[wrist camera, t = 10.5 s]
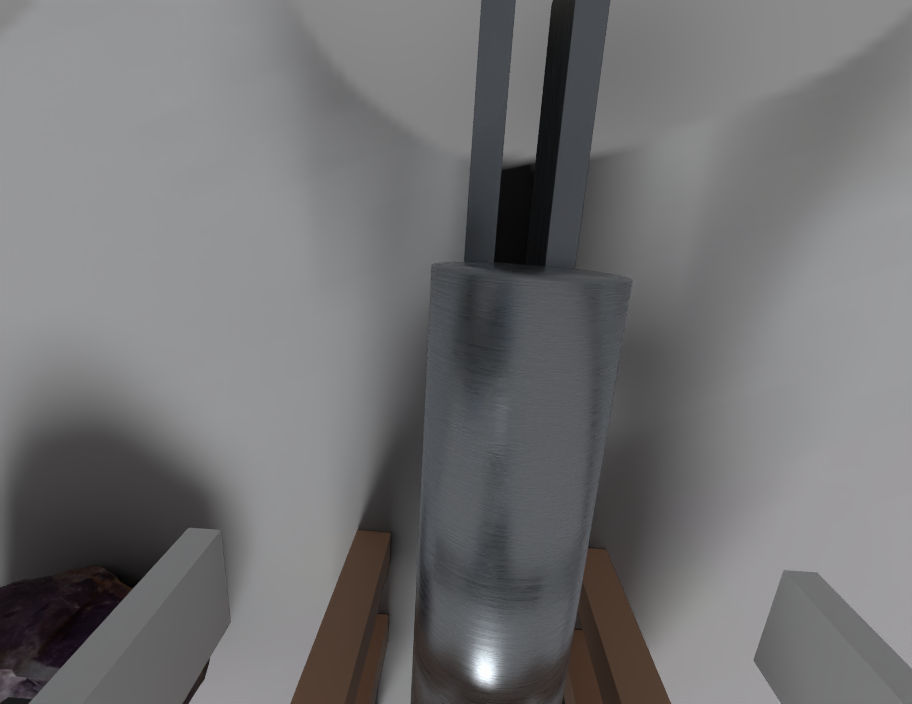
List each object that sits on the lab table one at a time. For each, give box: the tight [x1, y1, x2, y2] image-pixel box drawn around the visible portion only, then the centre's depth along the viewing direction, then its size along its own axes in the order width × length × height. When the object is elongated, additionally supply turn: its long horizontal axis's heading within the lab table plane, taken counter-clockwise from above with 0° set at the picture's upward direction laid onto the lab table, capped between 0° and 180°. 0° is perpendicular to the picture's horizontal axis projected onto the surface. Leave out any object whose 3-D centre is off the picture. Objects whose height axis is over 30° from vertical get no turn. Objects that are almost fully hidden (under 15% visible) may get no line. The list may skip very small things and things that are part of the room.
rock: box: [0, 566, 210, 704], centre depth 18 cm, size 12×9×10 cm
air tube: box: [411, 262, 632, 704], centre depth 13 cm, size 24×4×4 cm, turn 176°
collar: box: [291, 530, 671, 704], centre depth 14 cm, size 2×11×12 cm, turn 87°
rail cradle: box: [464, 0, 610, 269], centre depth 16 cm, size 32×3×4 cm, turn 176°
